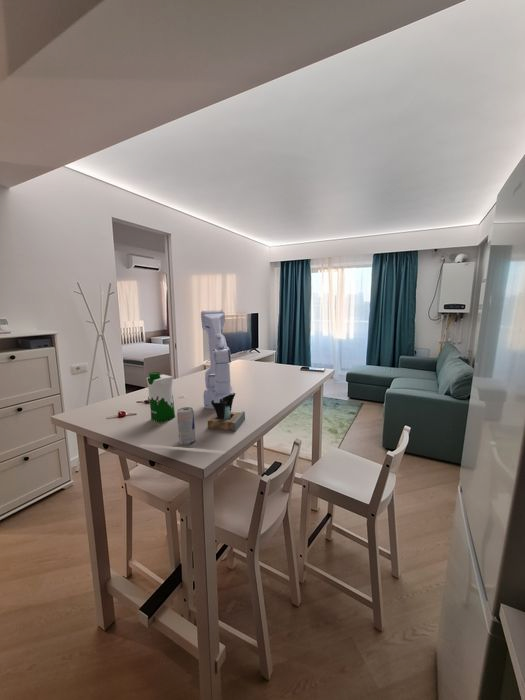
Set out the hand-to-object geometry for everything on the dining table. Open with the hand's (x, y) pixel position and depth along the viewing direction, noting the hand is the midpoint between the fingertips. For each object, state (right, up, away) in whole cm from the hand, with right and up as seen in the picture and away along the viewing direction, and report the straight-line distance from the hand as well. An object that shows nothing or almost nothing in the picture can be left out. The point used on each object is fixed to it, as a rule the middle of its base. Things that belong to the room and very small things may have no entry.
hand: (224, 415), depth 116 cm
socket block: (0, -4, +1) cm, 4 cm away
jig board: (-3, -4, +2) cm, 6 cm away
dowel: (0, -4, +1) cm, 4 cm away
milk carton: (-27, -4, +10) cm, 29 cm away
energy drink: (-11, -7, -13) cm, 18 cm away
